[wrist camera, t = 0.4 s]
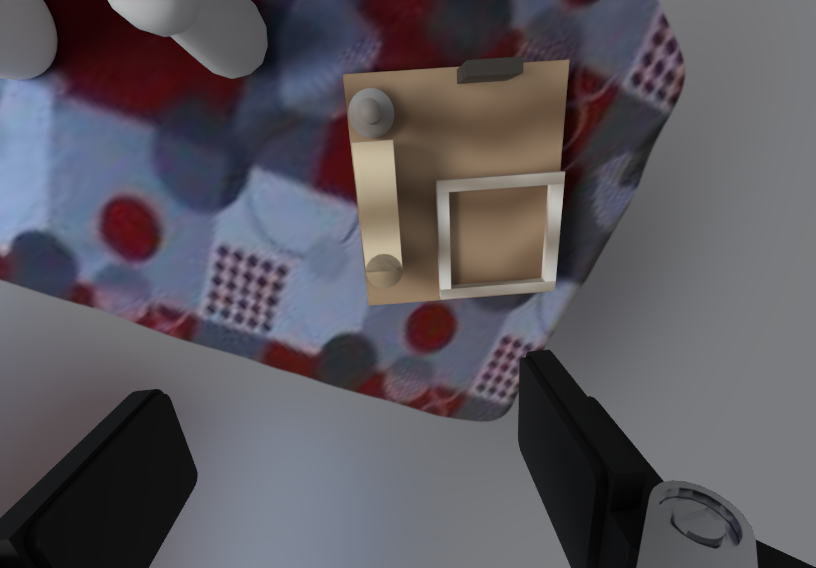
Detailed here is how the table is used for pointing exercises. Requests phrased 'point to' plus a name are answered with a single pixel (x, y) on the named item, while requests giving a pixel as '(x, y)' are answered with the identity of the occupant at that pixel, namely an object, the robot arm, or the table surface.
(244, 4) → the salt shaker
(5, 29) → the milk bottle
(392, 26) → the table surface
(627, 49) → the table surface
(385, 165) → the leg
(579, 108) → the table surface
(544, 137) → the wooden activity board
